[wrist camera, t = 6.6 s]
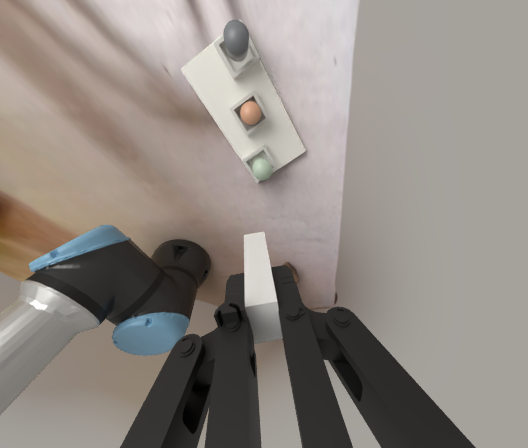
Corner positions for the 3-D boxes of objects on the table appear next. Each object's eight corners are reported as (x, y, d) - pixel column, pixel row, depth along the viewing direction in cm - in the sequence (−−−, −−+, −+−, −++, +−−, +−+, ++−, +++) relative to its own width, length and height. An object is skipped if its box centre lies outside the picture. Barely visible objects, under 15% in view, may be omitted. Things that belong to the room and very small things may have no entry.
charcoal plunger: (234, 66, 34) (233, 58, 30) (221, 43, 33) (218, 31, 28) (252, 52, 34) (253, 42, 29) (239, 28, 32) (239, 13, 28)
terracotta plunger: (247, 128, 41) (248, 128, 37) (237, 111, 40) (236, 109, 35) (262, 117, 41) (264, 116, 36) (252, 99, 39) (253, 96, 35)
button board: (256, 181, 48) (257, 185, 45) (182, 70, 37) (177, 66, 35) (304, 150, 46) (308, 152, 43) (240, 22, 35) (239, 13, 32)
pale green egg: (258, 177, 43) (259, 184, 39) (248, 163, 42) (249, 168, 37) (272, 168, 43) (275, 173, 38) (263, 153, 41) (265, 156, 37)
